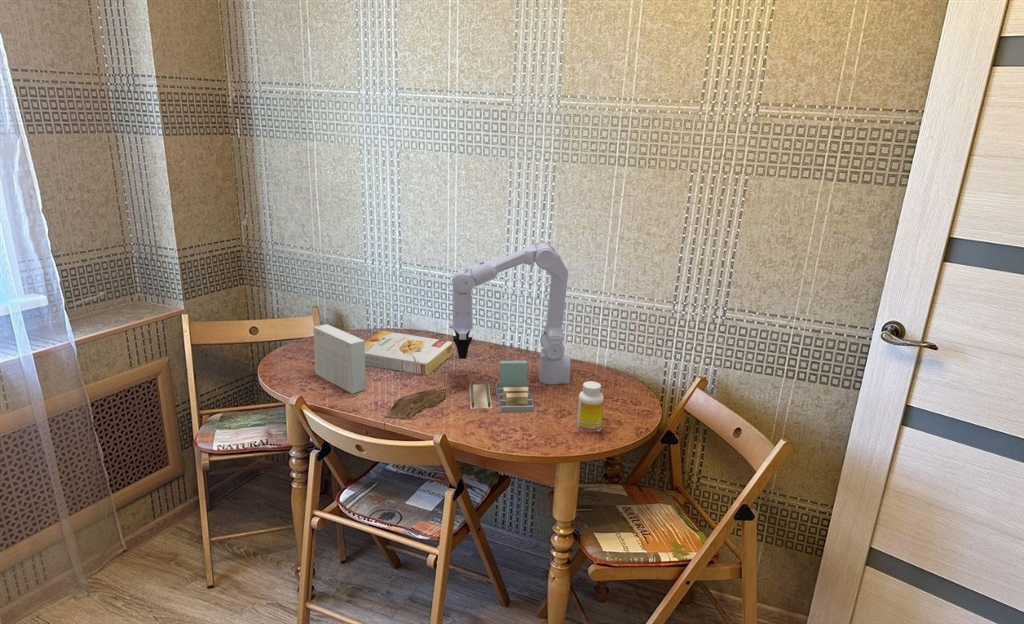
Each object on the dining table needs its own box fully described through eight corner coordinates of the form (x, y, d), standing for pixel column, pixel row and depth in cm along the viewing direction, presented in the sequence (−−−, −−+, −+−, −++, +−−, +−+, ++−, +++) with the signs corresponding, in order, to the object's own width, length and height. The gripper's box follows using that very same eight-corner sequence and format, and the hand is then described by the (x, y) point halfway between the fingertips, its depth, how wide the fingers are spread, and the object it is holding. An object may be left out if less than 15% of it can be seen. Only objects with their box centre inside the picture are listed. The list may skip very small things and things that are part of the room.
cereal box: (381, 329, 222) (453, 339, 214) (381, 343, 224) (454, 354, 216) (350, 349, 204) (428, 361, 196) (351, 365, 206) (429, 377, 197)
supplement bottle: (604, 433, 165) (608, 389, 161) (581, 435, 163) (584, 391, 159) (596, 421, 171) (599, 378, 167) (573, 423, 169) (576, 380, 166)
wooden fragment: (399, 425, 167) (399, 421, 167) (372, 412, 173) (372, 409, 173) (463, 393, 186) (463, 390, 186) (437, 383, 193) (437, 380, 192)
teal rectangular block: (525, 388, 188) (526, 360, 185) (526, 390, 186) (527, 363, 183) (499, 388, 187) (499, 360, 185) (499, 391, 185) (500, 363, 183)
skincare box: (367, 389, 187) (365, 340, 182) (352, 395, 183) (349, 344, 178) (330, 369, 200) (326, 322, 196) (314, 374, 197) (311, 326, 192)
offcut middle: (526, 399, 181) (527, 386, 179) (527, 403, 178) (528, 390, 177) (502, 399, 180) (503, 387, 179) (503, 403, 178) (503, 391, 176)
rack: (527, 386, 192) (527, 378, 191) (535, 414, 174) (535, 406, 173) (495, 386, 191) (495, 379, 190) (499, 415, 173) (499, 407, 172)
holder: (488, 387, 190) (488, 379, 189) (491, 411, 175) (492, 403, 174) (469, 387, 190) (469, 380, 189) (470, 411, 175) (470, 403, 174)
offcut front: (526, 405, 177) (527, 392, 176) (527, 409, 174) (528, 396, 173) (505, 406, 176) (506, 393, 175) (506, 410, 174) (506, 397, 173)
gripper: (449, 304, 191) (449, 345, 196) (448, 319, 178) (449, 363, 182) (472, 303, 192) (471, 344, 196) (473, 318, 178) (473, 362, 182)
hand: (462, 353), depth 189 cm, fingers open, 7 cm apart
